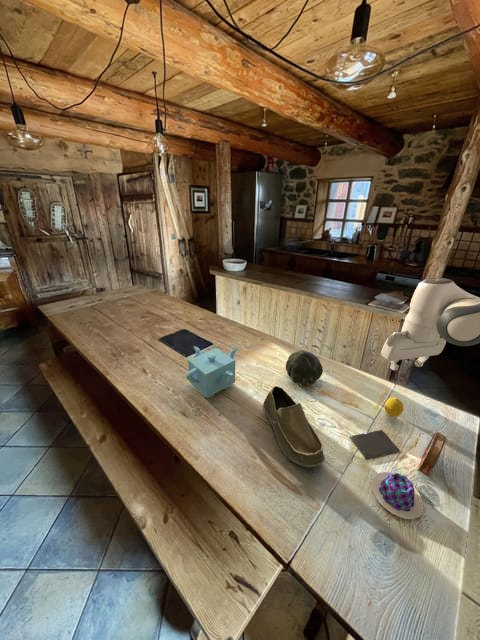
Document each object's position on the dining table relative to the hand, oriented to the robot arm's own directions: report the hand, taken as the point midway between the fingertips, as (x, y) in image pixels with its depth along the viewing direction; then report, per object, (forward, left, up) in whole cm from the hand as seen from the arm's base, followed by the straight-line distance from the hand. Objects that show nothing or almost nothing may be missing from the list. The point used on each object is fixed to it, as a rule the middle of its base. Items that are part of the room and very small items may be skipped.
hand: (405, 367), depth 87 cm
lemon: (0, +1, -21) cm, 21 cm away
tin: (+3, +19, -21) cm, 28 cm away
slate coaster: (+14, +10, -20) cm, 27 cm away
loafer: (+39, 0, -21) cm, 44 cm away
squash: (+22, -25, -21) cm, 39 cm away
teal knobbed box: (+59, -29, -21) cm, 69 cm away
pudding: (+19, +25, -21) cm, 38 cm away
